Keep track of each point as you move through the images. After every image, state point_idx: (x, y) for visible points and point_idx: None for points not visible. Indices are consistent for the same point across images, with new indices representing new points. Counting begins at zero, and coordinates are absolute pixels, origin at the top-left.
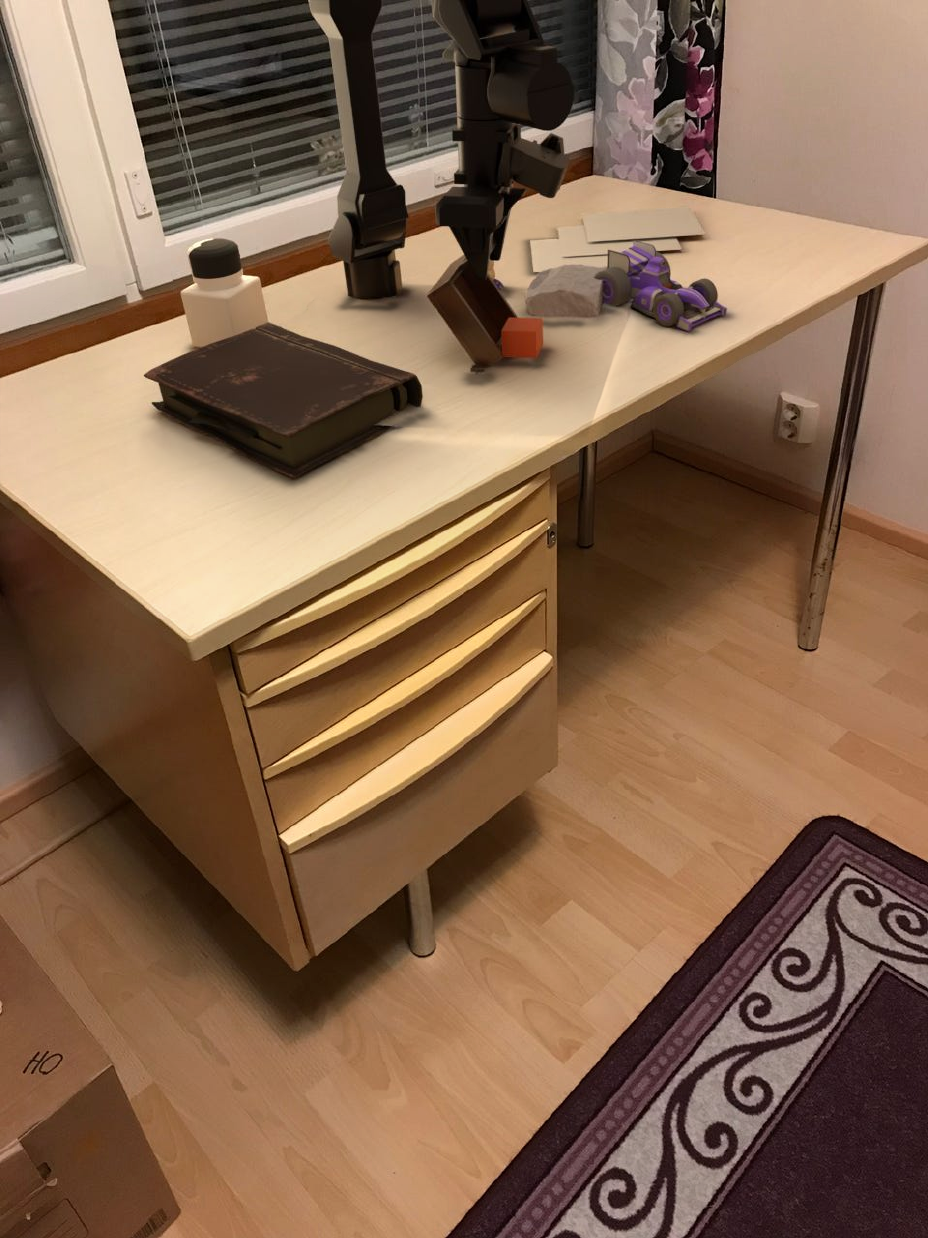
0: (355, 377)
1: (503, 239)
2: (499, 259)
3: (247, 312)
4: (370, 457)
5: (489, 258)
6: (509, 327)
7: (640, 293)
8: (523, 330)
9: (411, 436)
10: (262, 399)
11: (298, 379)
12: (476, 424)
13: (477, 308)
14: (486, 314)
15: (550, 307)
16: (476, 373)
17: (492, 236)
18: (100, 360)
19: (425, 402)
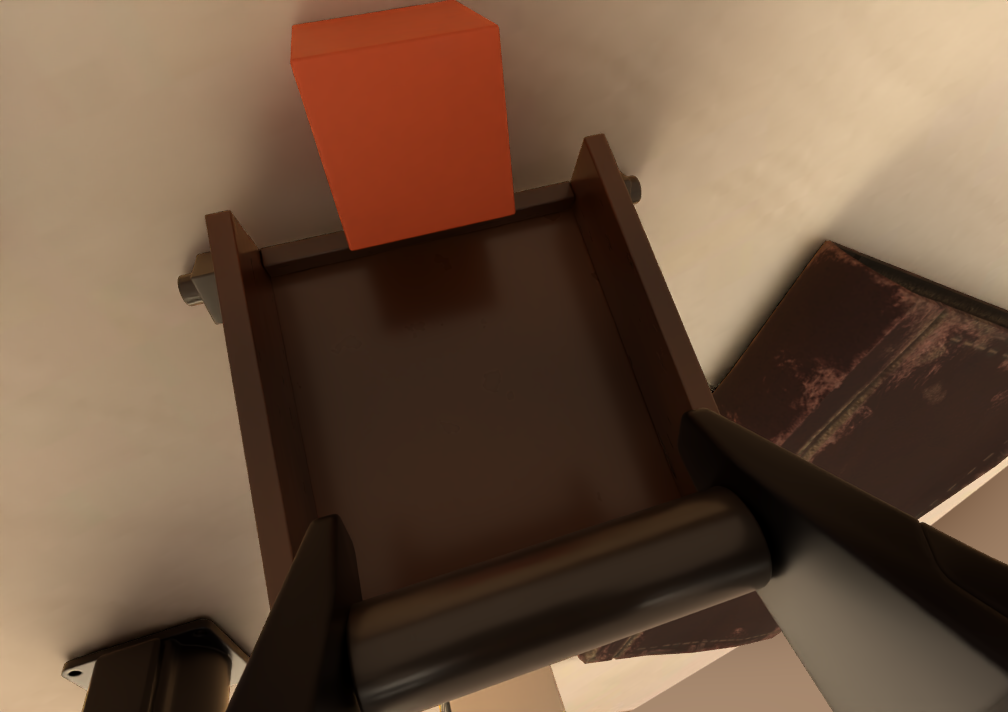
0: (888, 408)
1: (306, 646)
2: (334, 514)
3: (513, 705)
4: (980, 236)
5: (797, 491)
6: (472, 193)
7: None
8: (491, 107)
9: (917, 200)
10: (931, 479)
11: (865, 484)
12: (905, 51)
13: (363, 397)
14: (309, 361)
15: None
16: (634, 196)
17: (1003, 646)
18: (585, 696)
19: (747, 259)
